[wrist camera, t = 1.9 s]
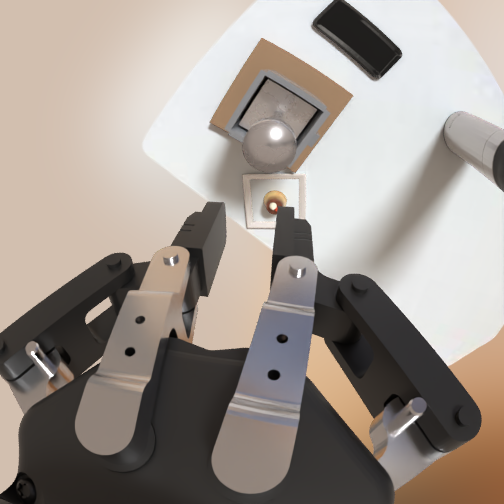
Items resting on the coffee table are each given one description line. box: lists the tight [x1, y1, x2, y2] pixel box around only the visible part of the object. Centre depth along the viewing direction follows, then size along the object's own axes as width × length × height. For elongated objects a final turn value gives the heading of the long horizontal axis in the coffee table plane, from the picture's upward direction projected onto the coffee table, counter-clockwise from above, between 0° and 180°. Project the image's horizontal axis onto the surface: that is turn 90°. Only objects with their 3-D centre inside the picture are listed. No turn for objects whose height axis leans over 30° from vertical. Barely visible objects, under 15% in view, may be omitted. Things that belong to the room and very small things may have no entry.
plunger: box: [239, 79, 317, 173], centre depth 29 cm, size 8×8×17 cm
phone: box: [313, 0, 402, 78], centre depth 36 cm, size 8×1×15 cm
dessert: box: [242, 174, 306, 228], centre depth 56 cm, size 12×12×5 cm
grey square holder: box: [210, 38, 353, 173], centre depth 39 cm, size 18×18×16 cm
